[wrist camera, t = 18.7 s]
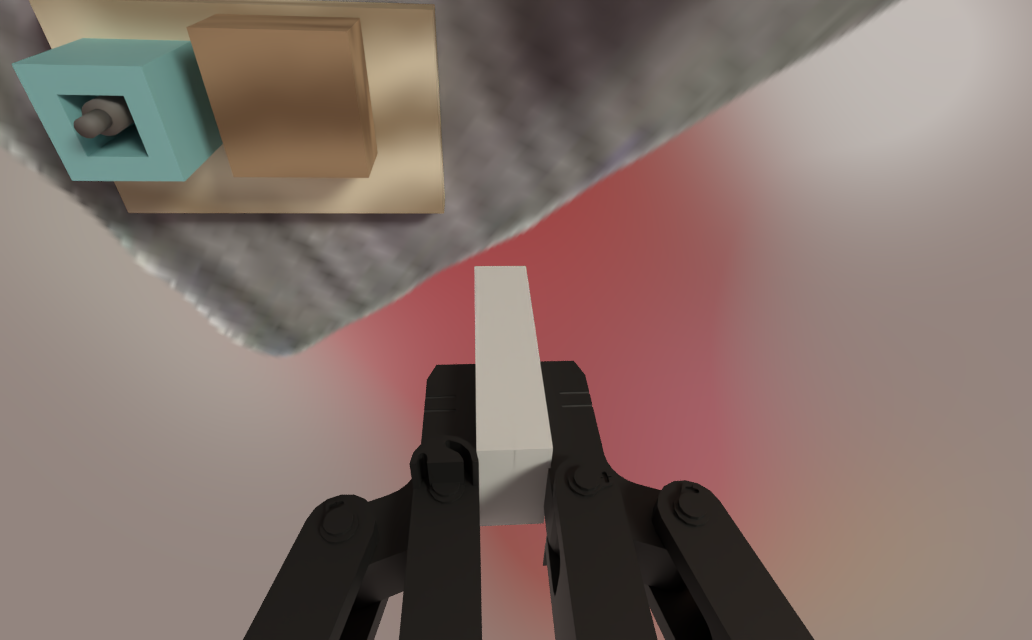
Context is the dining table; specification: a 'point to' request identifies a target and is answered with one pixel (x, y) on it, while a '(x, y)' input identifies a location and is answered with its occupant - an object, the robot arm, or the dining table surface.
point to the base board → (212, 188)
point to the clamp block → (288, 94)
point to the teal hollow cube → (150, 98)
